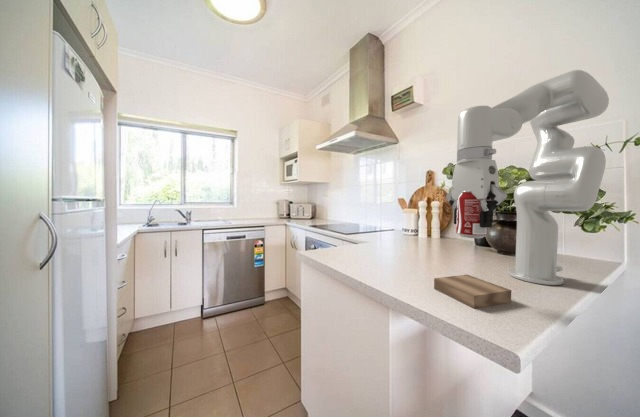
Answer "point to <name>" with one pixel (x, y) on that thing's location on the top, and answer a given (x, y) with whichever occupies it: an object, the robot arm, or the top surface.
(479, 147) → the robot arm
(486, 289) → the base block
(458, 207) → the soda can
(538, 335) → the top surface
